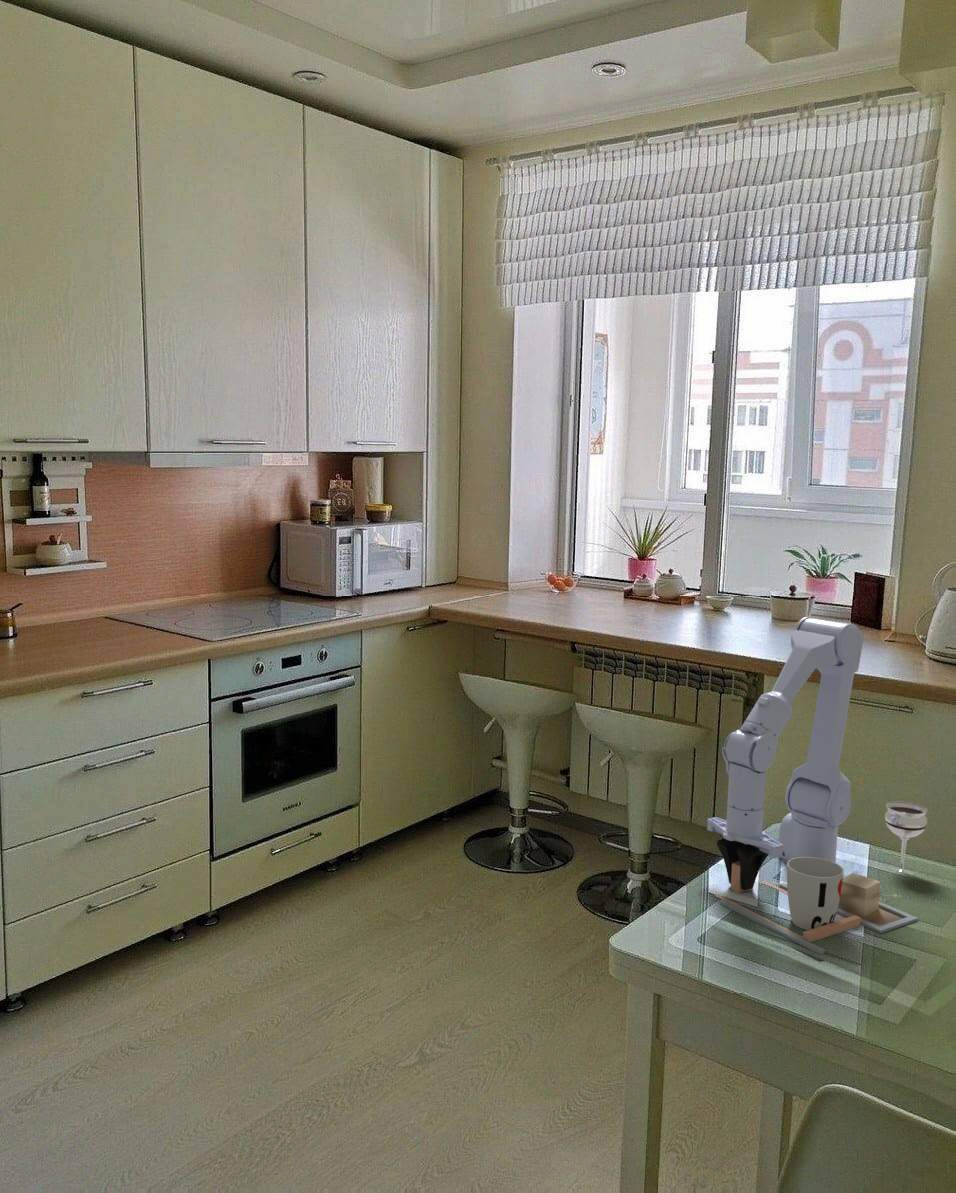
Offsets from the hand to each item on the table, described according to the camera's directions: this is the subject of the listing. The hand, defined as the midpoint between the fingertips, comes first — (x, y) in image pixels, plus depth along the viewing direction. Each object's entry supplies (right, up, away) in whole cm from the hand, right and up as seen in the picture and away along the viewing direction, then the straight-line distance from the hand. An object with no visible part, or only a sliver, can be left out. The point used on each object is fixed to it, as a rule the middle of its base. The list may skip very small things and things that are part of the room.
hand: (740, 885), depth 168 cm
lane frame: (+10, -3, -8) cm, 13 cm away
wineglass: (+31, -1, +11) cm, 32 cm away
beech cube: (+17, -2, -7) cm, 18 cm away
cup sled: (+5, -3, -7) cm, 9 cm away
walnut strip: (+15, -3, -4) cm, 16 cm away
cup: (+8, -4, -12) cm, 15 cm away
